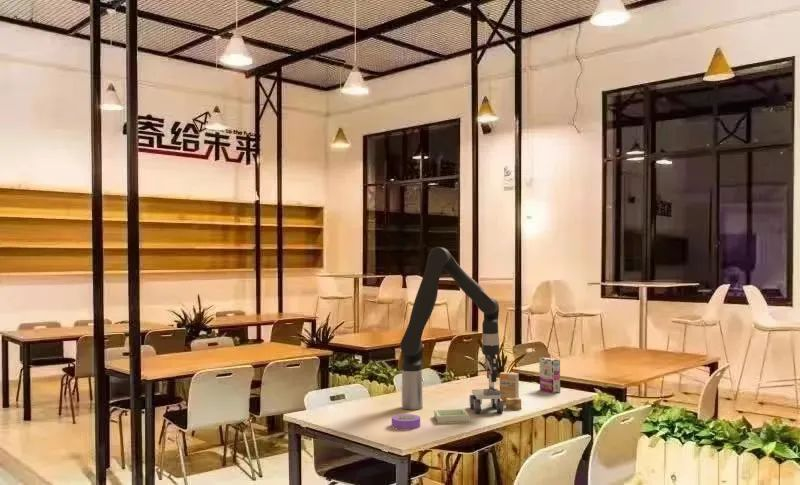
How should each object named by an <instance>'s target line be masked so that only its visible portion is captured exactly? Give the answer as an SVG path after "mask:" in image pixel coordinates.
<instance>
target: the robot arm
mask: <svg viewBox="0 0 800 485" xmlns="http://www.w3.org/2000/svg"><path fill="white" fill-rule="evenodd" d="M425 264H426V266H425V269H424V273H423V276H422V279H421V282H420V284H419V287H418V290H417V293H416V296H415V298H414V299H415V300H414V301H413V305H412V309H411V311H410V312H411V313H410V316H409V322H408V324H407V327H406V330H405V332H404V334H403V336H402V339H401V341H400V345H399V347H400V351H401V353H402V362H401V363H402V364H401V408H402V410H409V411H410V410H411V411H413V410H415V411H416V410H421V409H423V406H424V405H423V360H424V358H423V357H424V352H423V351H424V345H423V339H422V336H423V333H424V330H425V327H426V325H427V323H428V321H429V320H430V317H431V315H432V314H433V311H434V308H435V305H436V302H437V298H438V291H439V281H440V277H441V275H442V273H443V271H444V272H445V273H447V274H448V275H449V276H450V277H451V278H452V280H453V281H454V282H455V283H456V285H457V286H458V287H459V288H460V290H462V292H463V293H465V295H466V296H467V297H468V298H469V299H470V300H472V301H473V303H474V304H475V306H477V308H478V309H479V310H480V312H482V313H483V321H482V324H481V326H482V329H481V330H482V336H481V344H482V345H481V347H482V355H484V359H485V363H484V364H485V365H484V366H485V369H486V378H487V379H488V380H489V373H488V371H491V382H494V383H496V382H497V380H498V379H497V374H499V373H498V372H499V370H498V358H496V355H497V356H498V355H499V354H500V351H501V350H500V336H499V335H500V334H499V315H500V314H499V312H500V307H499V306H500V305H499V302H498V300H497V299H495V298H492V297H490V296H489V295H488V294H487V293H486V292H485V290H484V289H483V287H482V286H481V285H480V284H479V283H478V282H477V281H476V280H474V279H473V277H471V276H470V275H469V274H468V273H467V272H466V271H465V270H464V269H463V268H462V267H461V266H460V265H459V264H458V262H457V261H456V259H455V258H454V257H453V255H452V254H451V253H450V251H449V250H448V249H446V248H445V247H440V246H436V247H433V248H432V249H431V250H430V251H429V252H428V256H427V260H426V263H425Z"/></svg>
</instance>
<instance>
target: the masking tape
mask: <svg viewBox="0 0 800 485" xmlns="http://www.w3.org/2000/svg"><path fill="white" fill-rule="evenodd" d="M391 427H394V428H393V429H395V428H397V429H396V430H400V429H411V430H415V429H419V428H420V427H421V416H420V415H417V414H412V413H411V414H410V413H402V414H401V413H400V414H396V415H393V416H392V417H391Z"/></svg>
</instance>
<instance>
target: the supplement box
mask: <svg viewBox="0 0 800 485" xmlns="http://www.w3.org/2000/svg"><path fill="white" fill-rule="evenodd" d="M519 374H520V373H517V372H515V373H514V372H503V371H502V372H500V373H499V391H500V395H501V399H502V400H503V402H506V398H520V395H519V394H520V391H519V390H520V389H519V388H520V387H519V386H520V384H519V382H520V380H519V377H520V376H519Z"/></svg>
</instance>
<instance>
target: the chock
mask: <svg viewBox="0 0 800 485" xmlns="http://www.w3.org/2000/svg"><path fill="white" fill-rule="evenodd" d="M505 409H506V410H508V411H509V410H510V411H511V410H512V411H513V410H522V399H521V398H520V397H519V398H506V401H505Z"/></svg>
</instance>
